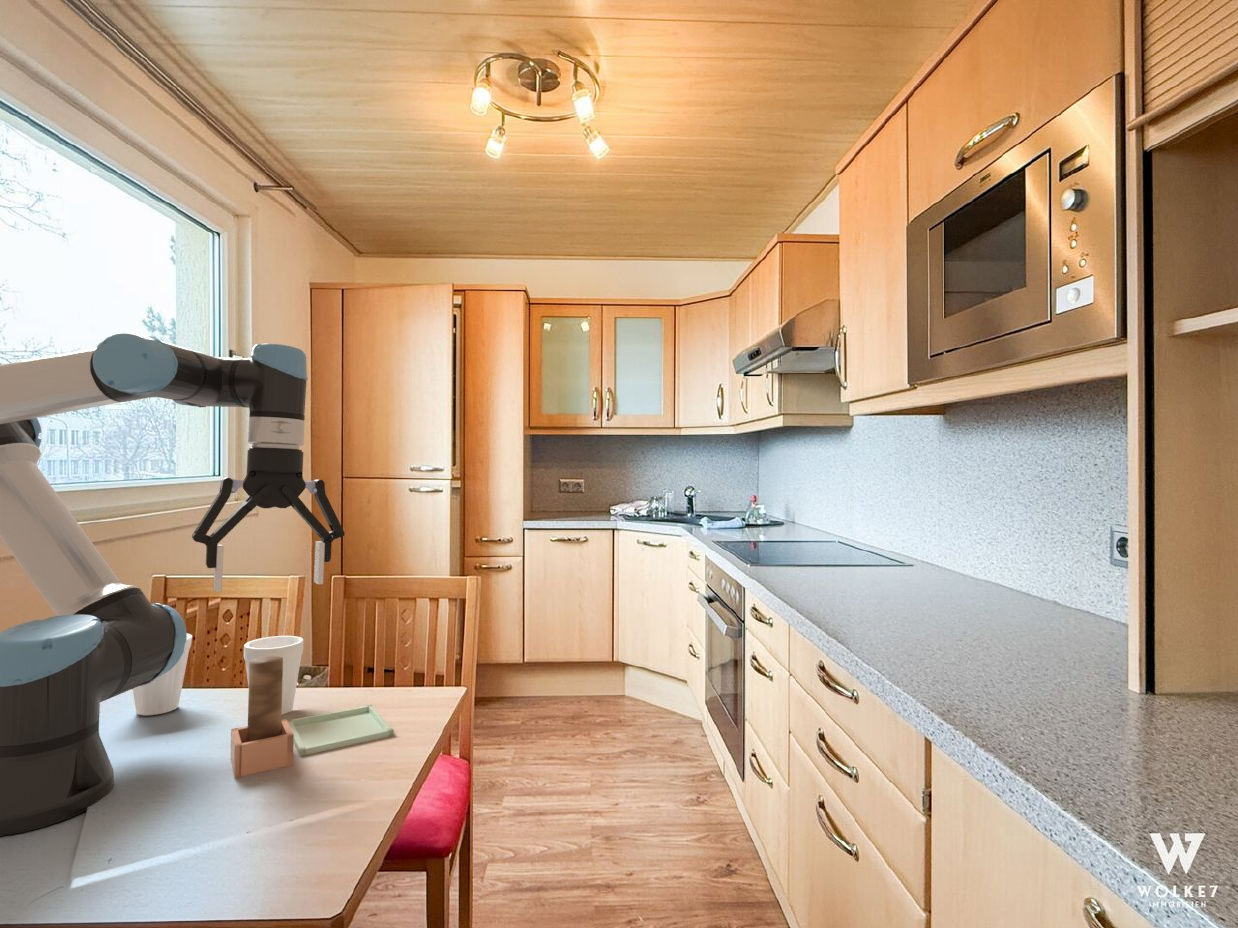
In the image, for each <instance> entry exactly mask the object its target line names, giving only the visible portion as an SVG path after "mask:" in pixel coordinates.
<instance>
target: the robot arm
mask: <svg viewBox="0 0 1238 928" xmlns="http://www.w3.org/2000/svg"><path fill="white" fill-rule="evenodd" d="M307 364H308V363H307V355H306V353H305V352H304V351H303V350H302V349H300V348H297V347H295V346H291V345H285V344H279V343H269V342H268V343H267V342H266V343H265V342H264V343H258V344H255V345H253V347H252V349H251V354H250V357H244V358H238V357H237V358H236V357H234V358H233V357H222V356H221V357H220V356H219V357H217V356H214V355H210V354H206V353H203V352H200V351H197V350H193V349H189V348H186V347H182V346H178V345H176V344H172V343H169V342H165V341H162V340H160V339H159V338H157V337H153V336H150V335H146V334H138V333H132V332H116V333H112V334H111V335H108V336H107V337H106V338H105V339H104V340H102V341H101V342H99V343H98V345H97V346H96V348H90V349H83V350H77V351H72V352H67V353H63V354H62V353H61V354H55V355H49V356H45V357H38V358H33V359H27V360H26V359H25V360H21V361H16V362H10V363H4V364H0V540H1V541H2V542H3V544H4V545H5V546H6V548H7V549H8V551H9V552H10V553H11V555H12V556H13V557H14V558H15V559H14V560H15V561H16V562H17V563H18V564H19V566H20V567H21V568H22V570H23V571H24V573H25V574H26V576H27V577H28V579H30V581H31V582H32V584H33V585H34V587H35V588H36V590H37V591H38V592H39V593H40V595H41V597H42V598H43V599H44V601H45V602H46V603H47V605H48V606H49V608H50V609H51V610H52V612H53V613H54V615H56V616H50V617H47V618H44V619H35V620H30V621H27V622H23V623H20V624H17V625H14V626H11V627H9V628H7V629H4V630H1V631H0V836H7V835H8V836H9V835H13V834H19V833H23V832H24V833H26V832H29V831H32V830H37V829H42V828H44V827H47V826H51V825H54V824H57V823H60V822H63V821H66V820H68V819H70V818H74V817H75V816H77V815H80V814H82V813H85V812H86V811H88V808H89V807H91V806H93V805H94V804H97V803H98V802H100V801H101V800H102V799H104V798H105V797H106V796H108V795H109V794H110V792H111V791H112V790H113V788H114V782H115V781H114V780H115V772H114V768H113V765H112V763H111V761H110V758H109V756H108V752H107V749H106V748H105V746H104V743H103V740H102V739H101V736H100V713H101V712H100V710H101V709H100V708H101V703H102V702H104V701H107V700H110V699H112V698H114V697H116V696H120V695H121V694H123V693H126V692H128V691H130V690H133V688H135V687H138V686H142V685H145V684H148V683H150V682H152V681H153V680H155V679H156V678H157V677H159V676H161V675H163V674H165V673H167V672H168V671H169V670H171V669H172V668H173V667H174V666H175V665H176V664H177V662H178V661H179V660H180V658H181V656H182V654H183V652H184V646H185V643H186V640H187V634H188V633H187V627H186V624H185V620H184V619H183V618H182V616H181V614H180V613H179V612H178V611H177V610H176V609H175V608H174V607H172V606H169V605H168V604H162V603H158V602H151V601H150V600H149V599H148V598H147V596H146V595H145V593H144V592H143V591H142V589H141V588H140V587H139V586H137V585H130V584H124V583H122V582H121V581H120V580H119V578H118V576H117V575H116V574H115V573H114V571H113V569H112V568H111V567H110V565H109V564H108V562H107V561H106V560H105V559H104V558H103V556H102V555H101V553H100V551H99V550H98V549H97V547H96V546H95V545H94V543H93V542H92V541H91V539H90V537H88V535H87V534H86V532H85V531H84V530H83V527H81V525H80V524H79V522H78V521H77V520H76V518H75V517H74V515H73V514H72V513H71V511H70V510H69V508H68V507H67V506H66V504H65V503H64V501H63V500H62V498H60V496H59V495H58V493H57V492H56V490H55V489H54V488H53V486H52V485H51V484H50V482H49V481H48V479H47V478H46V476H45V475H44V474H43V472H42V471H41V470H40V468H39V467H38V466H37V463H38V461H39V460H40V458H41V455H42V453H41V450H40V446H41V444H42V443H41V442H42V438H41V437H40V434H41V433H42V432H43V431H42V426H41V424H40V421H39V420H38V419H39V418H42V417H46V416H52V415H58V414H64V413H69V412H75V411H80V410H86V409H91V408H97V407H103V406H108V405H113V404H119V403H127V402H131V401H132V402H133V401H137V400H142V399H149V398H150V399H151V398H160V399H168V400H172V401H173V402H174V403H175V404H177V405H180V406H181V405H182V406H191V407H198V408H206V407H220V408H222V407H225V408H226V407H227V408H231V407H232V408H234V407H236V408H248V410H249V417H248V418H249V419H248V432H247V433H248V434H247V442H248V444H251V447H249V448H248V449H247V453H246V454H247V455H246V456H247V457H246V458H247V460H246V474H245V478H244V479H243V480H241V479H234V478H230V477H223V478H222V479H221V482H220V487H219V493H218V494H217V495H216V497H215V498H214V500H213V501H212V503H211V504H210V506H209V507H208V509H207V511H206V513H205V514H204V516H203V517H202V518H201V520H200V522H199V524H198V525H197V527H196V528H195V530H194V531H193V533H192V534H191V538H192V540H193V541H194V542H195V543H200V544H204V545H205V546H206V547H205V548H206V549H205V550H206V551H205V565H206V568H207V569H213V591H214V592H215V593H219V592H220V593H222V590H223V574H224V573H223V569H224V549H225V548H224V547H225V546H224V545H223V544H219V543H220V542H221V541H222V540H223V539H224V538H225V537H226V536H227V535H228V534H229V533H230V532H231V531H232V530H233V529H234V528H235V527H236V526H238V524H239V523H240V522H241V521H242V520H244V518H246V516H247V515H248V514H249V513H250V512H252V511H253V510H254V509H255V508H256V507H259V508H261V509H272V508H278V509H287V508H289V507H291V508H292V509H294V511H295V512H296V513H297V514H298V515H299V516H300V517H301V518H302V519H303V521H305V523H307V525H308V526H309V527H310V529H312V530H313V532H314V533H315V534H316V535H317V536H318V537H319V538H320V540H316V541H315V548H314V567H313V569H314V571H313V572H314V573H313V583H315V584H317V585H324V570H325V569H324V568H325V563H328V562H329V563H330V561H331V558H332V543H333V541H335V540H336V539H340V538H343V537H344V536H345V534H346V533H345V531H344V529H343V527H342V525H341V522H340V521H339V518H338V517H337V514H336V512H335V510H334V509H333V506H332V504H331V502H330V501H329V498H328V496H327V493H326V485H325V481H324V480H323V479H314V480H308V481H305V480H304V477H303V476H304V475H303V472H304V471H303V470H304V469H303V468H304V467H303V466H304V452H303V450H302V449H300V447H303V446H304V444H305V417H306V416H305V411H306V409H305V408H306V398H307V397H306V394H307V382H308V379H309V378H308V373H307V372H308V369H307V368H308V367H307ZM240 488H242V489H243V490H244V492H245V493H246V494H247V496H248V497H247V498H246V499H245V500H244V501H243V502H242V503H241V504H240V505H239V507H237V509H236V510H234V511H233V512H232V513H231V514H230V516H228V517H227V518H226V519H225V520H224V521H223V522H222V523H221V524H219V526H218V527H217V528H216V529H215V530H214V531H213V532H212V533H211V534H209V535H208V532H209V530H210V529H211V527H212V525H214V523H215V521H216V519H217V518H218V516H219V515H220V513H221V512H222V510H223V508H224V506H225V505H226V504H227V502H228V500H229V499H230V497H231V494H236V493H237V492H238V490H239V489H240ZM305 489H307V490H308V492H309V493H310V494H311V495H313V496H314V498H315V499H314V500H315V501H316V502H317V505H318V507H319V509H320V511H321V513H322V515H323V517H324V520H325V521H326V523H327V525H328V527H329V529H330V531H328V530H327V528H325V526H324V525H323V524H322V523H321V522H320V521H319V520H318V518H316V516H315V515H314V514H313V512H311V510H310V509H309V508H308V507H307V506H306V504H305V503H304V502H303V500H301V499H300V497H299V496H301V494H302V493H303V492H304V491H305Z"/></svg>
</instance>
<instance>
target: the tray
mask: <svg viewBox="0 0 1238 928" xmlns="http://www.w3.org/2000/svg"><path fill="white" fill-rule="evenodd" d="M287 722H288V724H289V726H290V728H291V730H292V732H293V734H294V741H293V746H294V747H295V749H296V751H297V754H298V756H299V757H303V756H308V755H312V754H317V753H321V752H325V751H330V750H335V749H339V748H344V747H348V746H352V745H358V744H361V743H366V742H371V741H375V740H381V739H384V738H389V737H393V736H394V730H395V729H394V728H392V726H391V725H390V724H389V723H388V721H387V720H386V719H385V718H384V717H383V716H382V715H381V714H380V713H379V711H378V710H377V709H376V708H375V706H374V705H373V704H368V705H362V706H356V707H353V708H346V709H340V710H336V711H331V712H326V713H319V714H314V715H309V716H304V717H299V718H298V717H297V718H291V719H288V720H287Z"/></svg>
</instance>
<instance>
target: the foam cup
mask: <svg viewBox="0 0 1238 928" xmlns="http://www.w3.org/2000/svg"><path fill="white" fill-rule="evenodd" d="M303 653H304V639H303V637H301V636H295V635H277V636H276V635H275V636H267V637H261V638H257V639H253V640H250V641H247V642H246V643H245V644H244V645H243V659H244V661H245V670H246V676H247V677H246V678H247V685H248V687H247V688H249V662H250V661H251V660H253V659H256V658H260V657H267V656H279V657H282V658H283V679H282V716H284V715H286V714H288V713H291V712H293V709H294V705H295V697H296V689H297V686H298V685H297V684H298V680H299V679H298V678H299V673H300V668H301V667H300V666H301V660H302V654H303Z"/></svg>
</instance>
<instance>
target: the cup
mask: <svg viewBox="0 0 1238 928" xmlns="http://www.w3.org/2000/svg"><path fill="white" fill-rule="evenodd" d="M192 641H193V634H190V633H187V640H186V643H185V646H184V652H183V654H182V656H181V658H180V660H179V661H178V662H177V664H176V665H175V666H174V667H173V668H172V669H171V670H169V671H168V672H167V673H165V674H163V675H161V676H159V677H157V678H156V679H155V680H153V681H152V682H150V683H148V684H145V685H142V686H138V687H135V688H133V689H132V694H133V700H134V701H133V702H134V706H135V714H137V715H139V716H153V715H155V716H156V715H161V714H165V713H169V712H171V711H175V710H176V709H177V708H179V706H180V705H179V704H180V700H181V693H182V689H183V684H184V678H185V673H186V669H187V668H186V667H187V664H188V663H187V662H188V657H189V653H190V649H191V647H192Z"/></svg>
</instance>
